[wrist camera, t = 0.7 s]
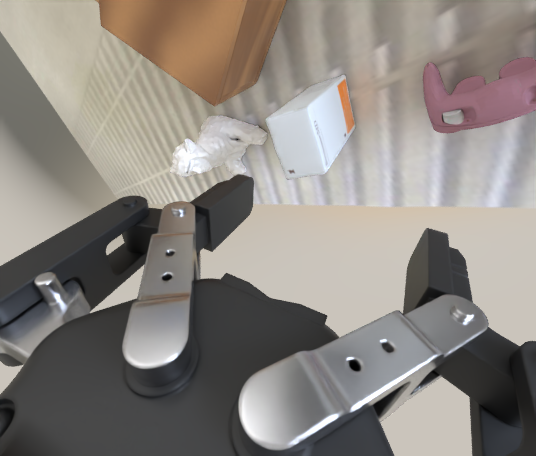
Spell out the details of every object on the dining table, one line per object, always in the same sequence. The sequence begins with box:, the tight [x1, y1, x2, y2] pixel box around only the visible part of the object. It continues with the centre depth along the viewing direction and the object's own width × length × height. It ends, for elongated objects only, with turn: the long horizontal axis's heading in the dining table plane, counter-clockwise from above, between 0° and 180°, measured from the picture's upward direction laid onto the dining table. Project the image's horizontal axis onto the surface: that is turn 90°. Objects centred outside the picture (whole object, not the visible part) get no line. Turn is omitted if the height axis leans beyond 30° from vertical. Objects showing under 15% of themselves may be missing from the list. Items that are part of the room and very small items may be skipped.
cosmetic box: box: [266, 75, 356, 180], centre depth 28 cm, size 6×4×12 cm
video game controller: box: [423, 57, 536, 133], centre depth 22 cm, size 10×5×7 cm, turn 121°
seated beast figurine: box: [170, 115, 267, 177], centre depth 37 cm, size 10×9×12 cm
